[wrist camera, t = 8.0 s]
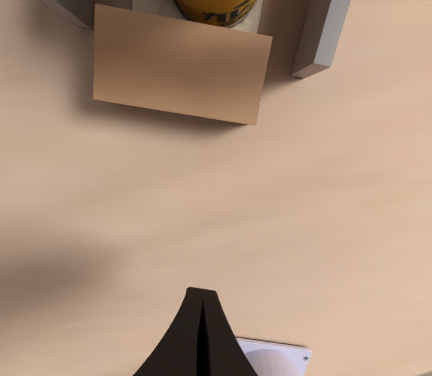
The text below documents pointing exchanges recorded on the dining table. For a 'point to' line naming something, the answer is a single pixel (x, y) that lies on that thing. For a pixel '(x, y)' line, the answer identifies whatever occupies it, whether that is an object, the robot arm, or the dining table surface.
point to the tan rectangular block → (178, 65)
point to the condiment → (207, 12)
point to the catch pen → (309, 42)
